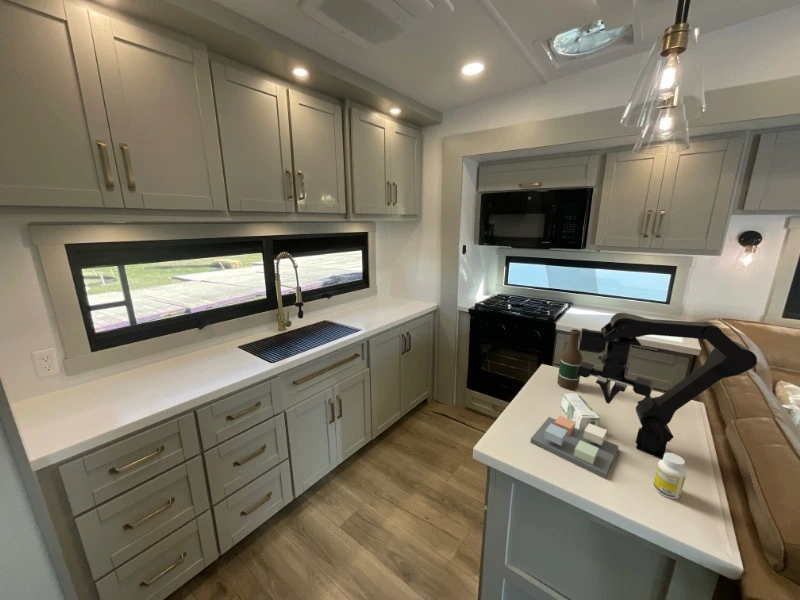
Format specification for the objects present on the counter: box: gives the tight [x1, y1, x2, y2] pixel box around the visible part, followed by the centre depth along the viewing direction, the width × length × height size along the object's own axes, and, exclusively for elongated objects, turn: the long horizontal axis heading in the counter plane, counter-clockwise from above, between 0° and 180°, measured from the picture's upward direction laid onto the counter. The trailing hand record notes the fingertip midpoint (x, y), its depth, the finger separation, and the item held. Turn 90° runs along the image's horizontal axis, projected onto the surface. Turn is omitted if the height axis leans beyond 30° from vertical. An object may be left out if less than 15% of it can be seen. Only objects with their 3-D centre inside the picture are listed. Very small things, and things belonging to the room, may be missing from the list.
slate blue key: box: [544, 424, 567, 446], centre depth 95 cm, size 5×5×2 cm
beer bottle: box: [557, 329, 583, 391], centre depth 128 cm, size 8×8×24 cm
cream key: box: [583, 423, 608, 445], centre depth 95 cm, size 5×5×2 cm
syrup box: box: [560, 392, 600, 431], centre depth 108 cm, size 6×6×14 cm
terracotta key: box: [554, 415, 576, 436], centre depth 101 cm, size 5×5×2 cm
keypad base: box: [529, 416, 619, 479], centre depth 96 cm, size 20×15×2 cm
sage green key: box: [574, 440, 599, 465], centre depth 90 cm, size 5×5×2 cm
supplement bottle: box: [652, 452, 687, 500], centre depth 79 cm, size 5×5×10 cm
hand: (607, 402), depth 97 cm, fingers closed
